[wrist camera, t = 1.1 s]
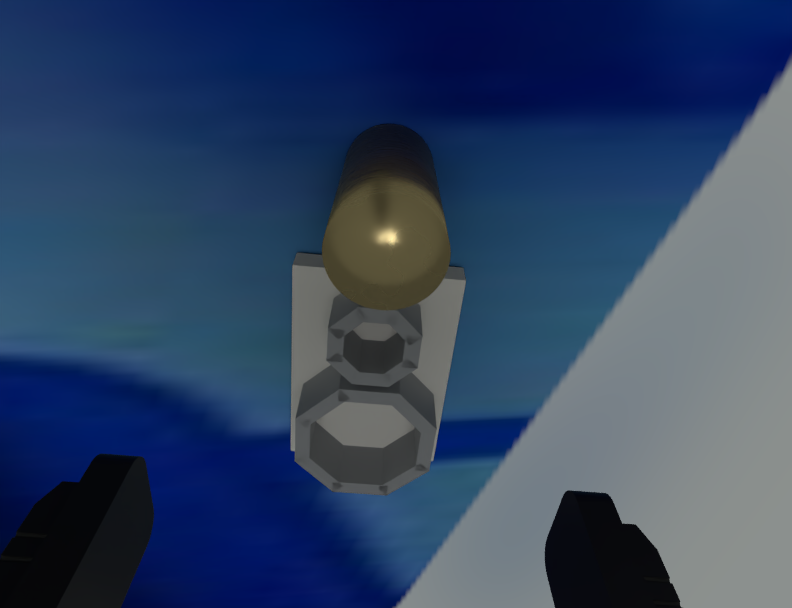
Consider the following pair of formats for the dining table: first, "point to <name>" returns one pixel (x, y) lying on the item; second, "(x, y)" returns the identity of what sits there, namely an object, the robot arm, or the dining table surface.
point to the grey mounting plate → (368, 381)
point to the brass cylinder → (387, 222)
